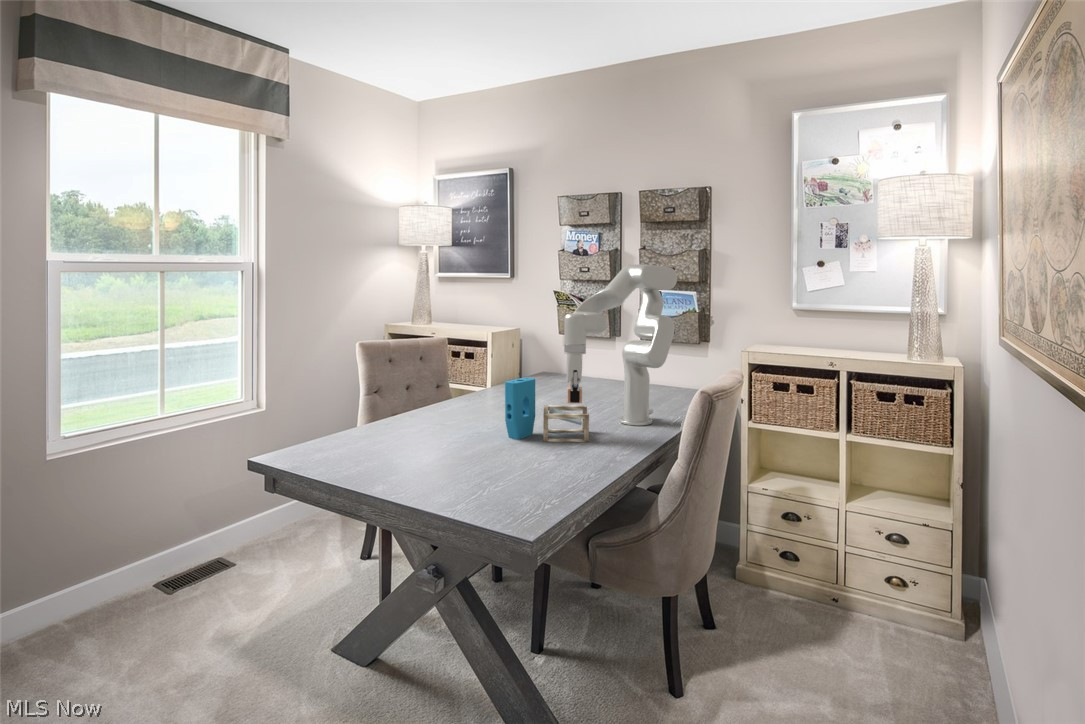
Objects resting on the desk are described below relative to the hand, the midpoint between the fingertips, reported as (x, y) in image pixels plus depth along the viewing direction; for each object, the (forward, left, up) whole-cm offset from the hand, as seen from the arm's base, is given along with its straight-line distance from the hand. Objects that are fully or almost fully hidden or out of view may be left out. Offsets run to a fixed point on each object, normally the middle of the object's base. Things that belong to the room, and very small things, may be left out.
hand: (574, 400), depth 224 cm
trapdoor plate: (+2, -3, -6) cm, 7 cm away
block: (+12, -15, -13) cm, 23 cm away
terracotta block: (0, 0, -1) cm, 1 cm away
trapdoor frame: (+2, -2, -13) cm, 13 cm away
